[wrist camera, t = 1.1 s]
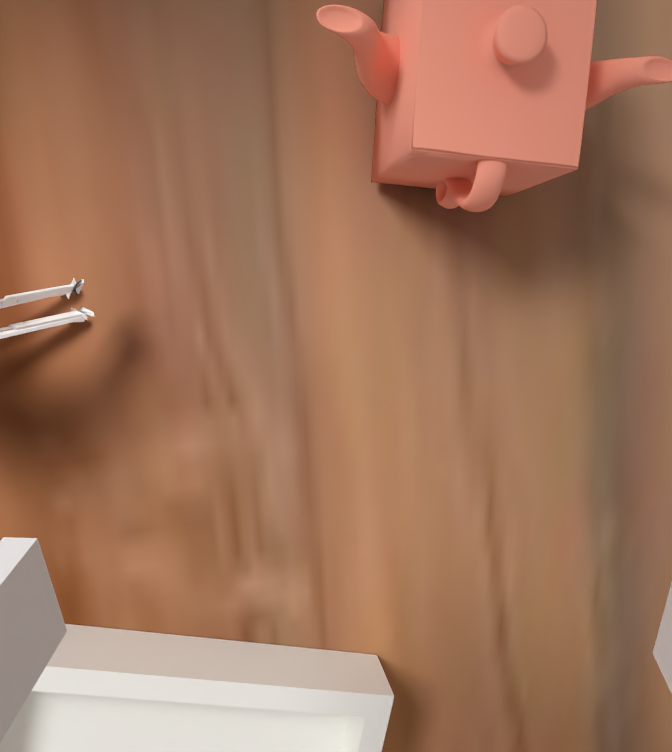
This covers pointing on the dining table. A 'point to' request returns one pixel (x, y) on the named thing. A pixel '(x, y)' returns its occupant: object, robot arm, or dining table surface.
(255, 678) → the tray
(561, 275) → the dining table surface
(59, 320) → the white flat pronged piece
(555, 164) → the teapot
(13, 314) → the dining table surface
